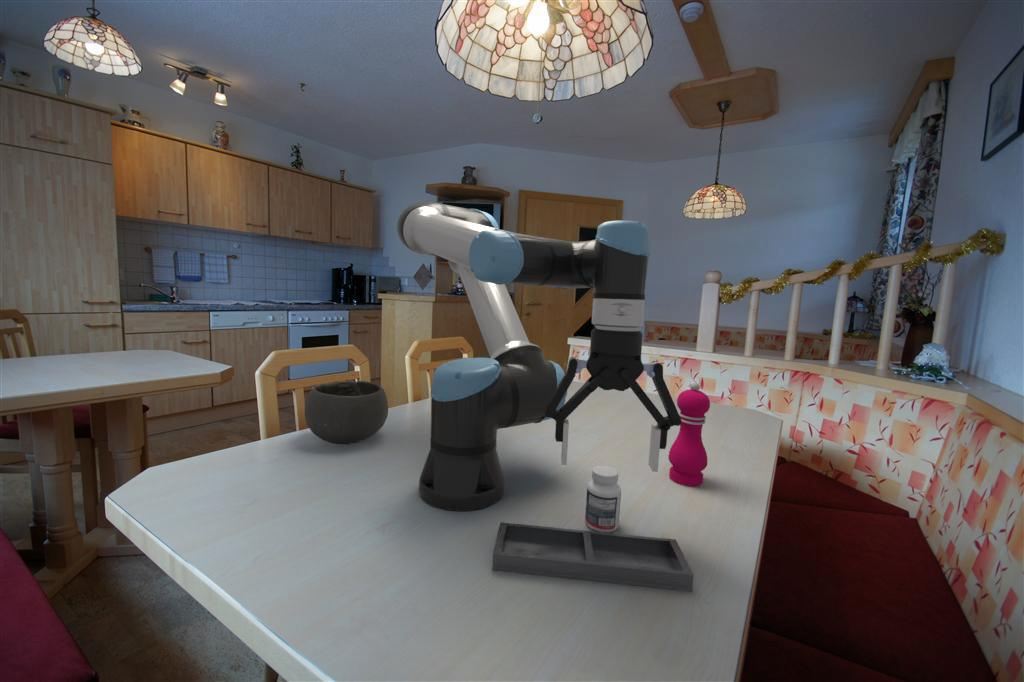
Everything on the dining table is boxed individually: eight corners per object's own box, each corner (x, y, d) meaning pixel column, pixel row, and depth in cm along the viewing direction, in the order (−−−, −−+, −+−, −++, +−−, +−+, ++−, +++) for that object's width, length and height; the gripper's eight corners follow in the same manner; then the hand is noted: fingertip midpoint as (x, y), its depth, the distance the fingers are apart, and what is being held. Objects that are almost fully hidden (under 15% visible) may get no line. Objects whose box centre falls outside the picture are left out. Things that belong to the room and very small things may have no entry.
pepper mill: (709, 490, 80) (720, 387, 78) (669, 485, 82) (679, 384, 80) (700, 474, 87) (710, 380, 85) (664, 470, 89) (672, 377, 87)
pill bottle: (594, 511, 70) (598, 460, 69) (624, 523, 67) (628, 470, 66) (578, 524, 66) (582, 470, 65) (608, 537, 63) (613, 481, 62)
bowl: (349, 423, 109) (349, 375, 108) (404, 436, 101) (405, 385, 100) (286, 444, 93) (285, 388, 92) (345, 461, 85) (345, 400, 84)
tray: (492, 569, 54) (492, 553, 54) (499, 536, 62) (500, 522, 62) (691, 591, 52) (693, 575, 52) (674, 554, 60) (675, 539, 59)
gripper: (532, 326, 60) (526, 468, 63) (712, 334, 58) (699, 481, 60) (534, 323, 68) (528, 450, 70) (694, 330, 66) (683, 461, 68)
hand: (607, 465), depth 65 cm, fingers open, 13 cm apart
